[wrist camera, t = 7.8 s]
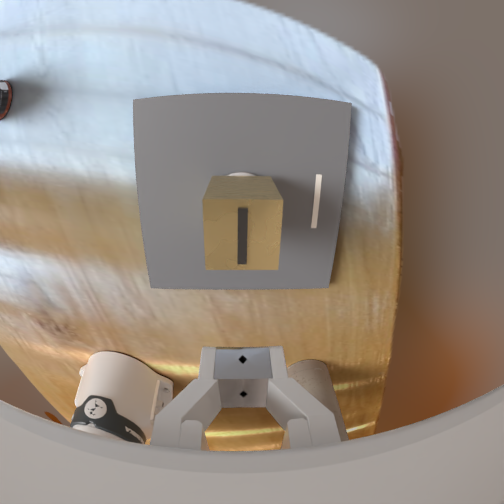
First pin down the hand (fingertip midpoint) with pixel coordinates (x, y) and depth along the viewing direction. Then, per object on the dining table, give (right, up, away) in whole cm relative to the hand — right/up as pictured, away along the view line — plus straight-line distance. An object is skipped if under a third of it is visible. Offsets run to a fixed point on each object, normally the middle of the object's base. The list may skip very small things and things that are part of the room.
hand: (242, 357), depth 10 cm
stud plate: (-1, +10, +20) cm, 22 cm away
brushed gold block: (-1, +9, +18) cm, 20 cm away
